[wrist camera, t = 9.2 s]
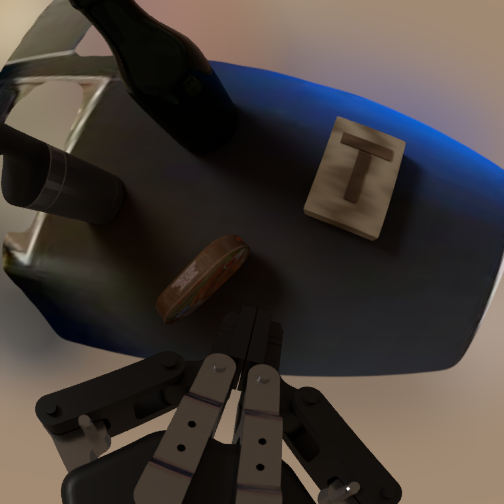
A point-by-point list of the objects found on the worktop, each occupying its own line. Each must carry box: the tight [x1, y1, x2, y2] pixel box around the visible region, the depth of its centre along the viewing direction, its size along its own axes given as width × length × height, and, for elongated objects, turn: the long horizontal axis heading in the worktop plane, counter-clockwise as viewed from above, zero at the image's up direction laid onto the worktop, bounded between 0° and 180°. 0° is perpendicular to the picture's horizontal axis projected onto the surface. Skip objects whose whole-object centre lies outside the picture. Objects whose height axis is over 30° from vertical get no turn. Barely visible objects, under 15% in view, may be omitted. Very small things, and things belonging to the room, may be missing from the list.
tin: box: [155, 234, 250, 324], centre depth 38 cm, size 15×3×8 cm, turn 132°
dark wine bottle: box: [69, 0, 238, 153], centre depth 28 cm, size 10×10×33 cm
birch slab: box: [304, 116, 406, 241], centre depth 37 cm, size 10×4×14 cm
